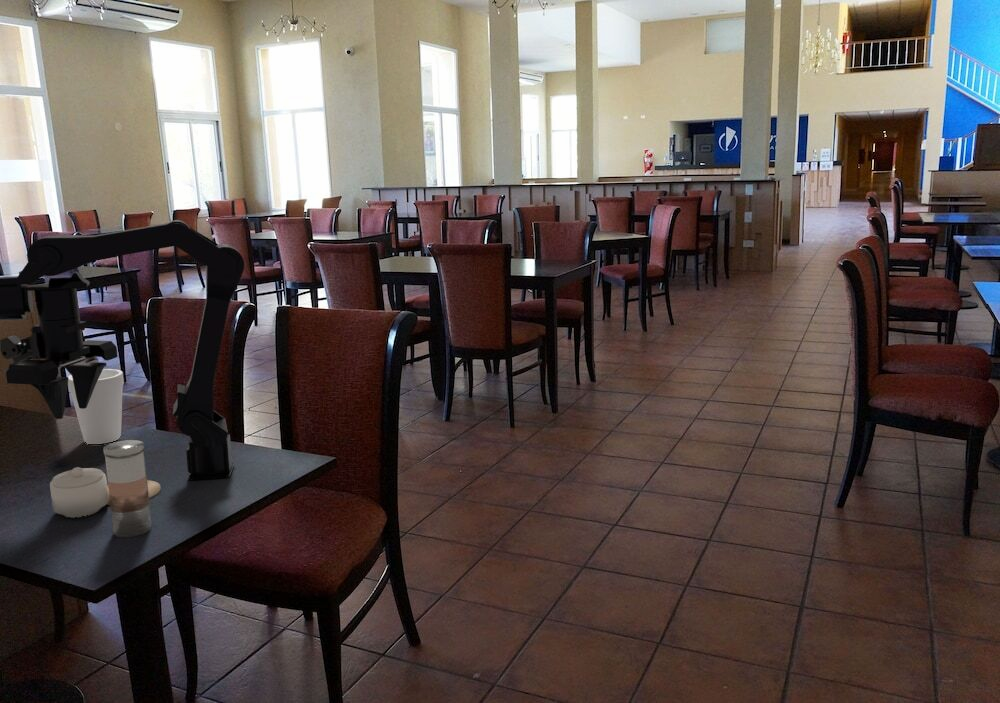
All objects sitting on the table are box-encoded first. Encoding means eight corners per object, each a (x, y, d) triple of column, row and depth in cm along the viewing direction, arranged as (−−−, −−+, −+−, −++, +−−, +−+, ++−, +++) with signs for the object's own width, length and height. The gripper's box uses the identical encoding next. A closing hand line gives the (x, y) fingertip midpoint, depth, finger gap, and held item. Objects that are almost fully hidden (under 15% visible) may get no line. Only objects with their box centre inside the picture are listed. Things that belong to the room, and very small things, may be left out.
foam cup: (93, 451, 149) (85, 383, 146) (65, 442, 154) (57, 377, 151) (139, 437, 157) (132, 372, 154) (111, 429, 162) (104, 366, 159)
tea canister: (156, 520, 119) (147, 439, 116) (147, 536, 114) (138, 451, 111) (118, 523, 118) (109, 441, 115) (108, 539, 113) (98, 453, 110)
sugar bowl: (115, 499, 127) (110, 457, 126) (100, 519, 120) (95, 475, 118) (64, 502, 126) (58, 460, 124) (46, 522, 118) (40, 478, 117)
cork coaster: (167, 479, 135) (166, 478, 135) (152, 503, 125) (152, 501, 125) (103, 483, 133) (103, 481, 133) (84, 507, 124) (83, 506, 124)
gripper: (54, 306, 135) (65, 395, 138) (-35, 327, 117) (-19, 429, 120) (114, 307, 133) (124, 398, 137) (33, 329, 115) (47, 432, 119)
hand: (71, 413), depth 128 cm, fingers open, 5 cm apart
